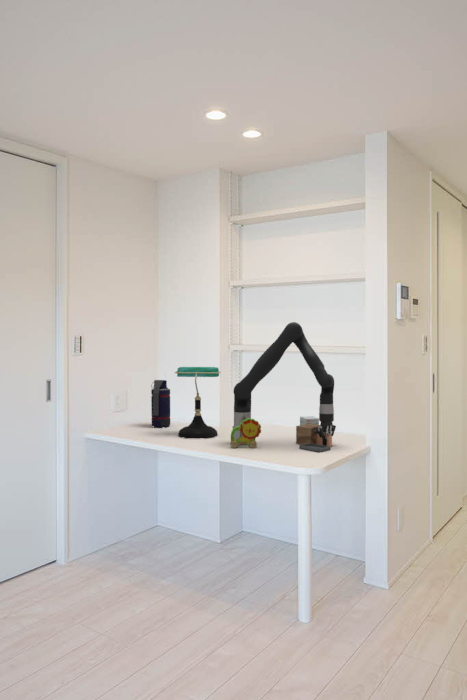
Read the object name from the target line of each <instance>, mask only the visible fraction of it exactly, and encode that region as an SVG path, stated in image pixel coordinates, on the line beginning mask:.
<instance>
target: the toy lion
mask: <svg viewBox="0 0 467 700" xmlns="http://www.w3.org/2000/svg"><path fill="white" fill-rule="evenodd" d="M261 428H262V425H261V424H260V422H259V421H258V420H255V419H254V418H251V419H250V418H247V419H246V420H243V421H242V423H240V426H238V427H235V428H234V429H233V428H232V430H231V433H230V446H231V447H232V448H233V449H236V448H238V446H241V445H240V444H246V445H247V446H249V447H250V448H251V449H256V448H257V446H258V443H257V441H256V438H258V437H259V436H260V435H261V433H262V429H261ZM235 431H241V433H242V436H241V437H239V438H238V439H237V440H235V439H234V432H235ZM246 445H245V446H246Z"/></svg>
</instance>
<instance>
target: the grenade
mask: <svg viewBox="0 0 467 700" xmlns="http://www.w3.org/2000/svg"><path fill="white" fill-rule="evenodd" d="M153 384H154V385H153ZM150 386H151V391H150V392H151V393H150V394H151V396H150V398H151V399H150V401H151V426H154V427H161V428H162V427H165V428H166V427H170V426H171V389H170V388H169V387H168V385H167V380H166V379H154V380H153V381H152V383H151V385H150Z"/></svg>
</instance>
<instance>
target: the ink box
mask: <svg viewBox="0 0 467 700" xmlns="http://www.w3.org/2000/svg"><path fill="white" fill-rule="evenodd" d="M306 424H316V425H320V421H319V417H316V416H314V415H313V416H310V415H309V416H299V426H300V425H306Z"/></svg>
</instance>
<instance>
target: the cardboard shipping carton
mask: <svg viewBox="0 0 467 700" xmlns="http://www.w3.org/2000/svg"><path fill="white" fill-rule="evenodd" d="M317 427H318V428H319V427H320V424H319V425H316V424H306V425H300V424H299V425H296V426H295V429H296V430H295V432H296V433H295V438H296V441H295V443H296V444H297V445H303V444H308V443H313V444H316V433H318V431H317Z"/></svg>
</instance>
